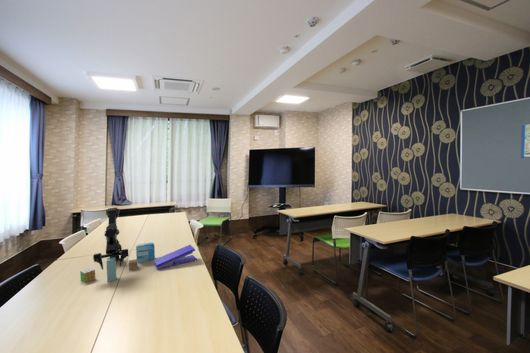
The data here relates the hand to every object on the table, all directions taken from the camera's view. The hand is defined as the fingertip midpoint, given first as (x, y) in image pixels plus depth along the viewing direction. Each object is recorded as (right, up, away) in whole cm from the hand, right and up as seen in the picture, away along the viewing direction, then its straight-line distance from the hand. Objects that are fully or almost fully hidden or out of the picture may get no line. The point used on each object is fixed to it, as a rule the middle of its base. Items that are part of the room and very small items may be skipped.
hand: (111, 267), depth 149 cm
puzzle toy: (-15, -8, +1) cm, 17 cm away
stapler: (+30, -6, +26) cm, 40 cm away
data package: (+6, -6, +31) cm, 32 cm away
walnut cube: (+4, -7, +17) cm, 19 cm away
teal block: (0, -7, +1) cm, 8 cm away
